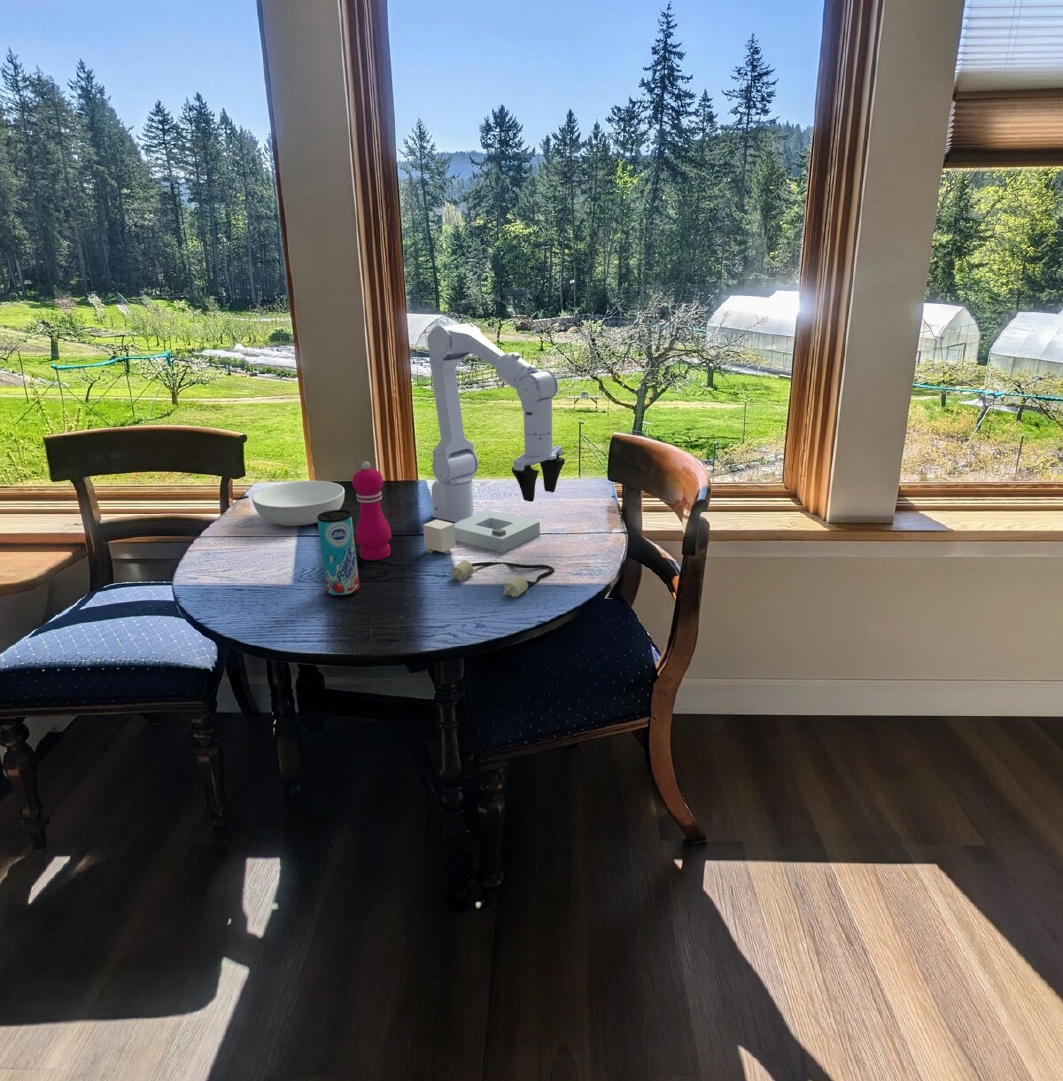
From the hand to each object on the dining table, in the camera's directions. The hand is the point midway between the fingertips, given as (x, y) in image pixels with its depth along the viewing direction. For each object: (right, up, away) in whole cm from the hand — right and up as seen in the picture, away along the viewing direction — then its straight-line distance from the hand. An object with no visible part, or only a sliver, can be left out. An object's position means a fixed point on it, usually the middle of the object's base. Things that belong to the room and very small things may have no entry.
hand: (539, 495), depth 158 cm
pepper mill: (-34, -13, -2) cm, 36 cm away
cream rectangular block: (-21, -12, -1) cm, 24 cm away
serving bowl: (-56, -5, +21) cm, 60 cm away
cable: (-7, -17, -14) cm, 23 cm away
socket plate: (-10, -9, +7) cm, 14 cm away
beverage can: (-36, -19, -19) cm, 45 cm away
